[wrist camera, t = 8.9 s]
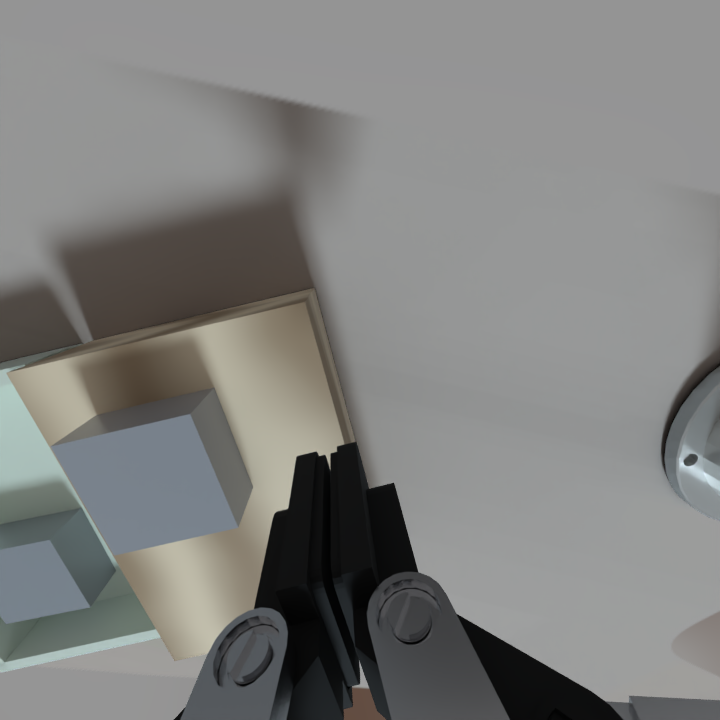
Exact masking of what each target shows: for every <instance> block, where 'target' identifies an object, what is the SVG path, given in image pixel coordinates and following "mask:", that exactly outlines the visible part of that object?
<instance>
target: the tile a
mask: <svg viewBox="0 0 720 720" xmlns="http://www.w3.org/2000/svg"><path fill="white" fill-rule="evenodd" d="M115 572H116V569H115V567H114V566H113V564H112V562H111V560H110V558H109V556H108V555H107V553H106V551H105V549H104V547H103V546H102V544H101V542H100V540H99V538H98V537H97V535H96V533H95V531H94V529H93V527H92V526H91V524H90V522H89V520H88V518H87V517H86V515H85V513H84V511H83V509H82V508H78V509H73V510H68V511H63V512H58V513H53V514H48V515H43V516H38V517H33V518H28V519H24V520H19V521H14V522H9V523H4V524H0V616H1V618H2V619H3V621H4V622H5V623H6V624H9V623H14V622H19V621H24V620H29V619H34V618H39V617H44V616H49V615H54V614H59V613H65V612H70V611H75V610H80V609H85V608H90V607H91V606H92V605H93V603H94V602H95V600H96V599H97V597H98V596H99V595H100V593H101V592H102V590H103V589H104V587H105V586H106V585H107V583H108V582H109V580H110V579H111V577H112V576H113V574H114V573H115Z"/></svg>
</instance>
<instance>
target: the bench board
mask: <svg viewBox="0 0 720 720" xmlns="http://www.w3.org/2000/svg"><path fill="white" fill-rule="evenodd" d="M6 374H7V375H8V377H9V379H10V381H11V382H12V384H13V386H14V387H15V389H16V391H17V393H18V394H19V396H20V398H21V399H22V401H23V403H24V404H25V406H26V408H27V410H28V411H29V413H30V415H31V416H32V418H33V420H34V422H35V423H36V425H37V427H38V428H39V430H40V432H41V434H42V435H43V437H44V439H45V440H46V442H47V444H48V445H49V447H50V446H52V445H53V444H55V443H56V442H58V441H59V440H61V439H62V438H64V437H65V436H67V435H68V434H69V433H71V432H72V431H74V430H75V429H77V428H78V427H80V426H81V425H83V424H84V423H86V422H87V421H89V420H90V419H91V418H93V417H94V416H96V415H98V414H103V413H107V412H111V411H116V410H120V409H124V408H128V407H133V406H137V405H141V404H145V403H150V402H154V401H158V400H163V399H167V398H171V397H175V396H180V395H184V394H188V393H192V392H197V391H201V390H205V389H210V388H215V390H216V393H217V395H218V398H219V401H220V403H221V406H222V408H223V411H224V413H225V416H226V419H227V421H228V424H229V426H230V429H231V431H232V434H233V436H234V439H235V442H236V444H237V447H238V449H239V452H240V454H241V457H242V460H243V462H244V465H245V467H246V470H247V472H248V475H249V478H250V480H251V483H252V485H253V489H252V492H251V495H250V498H249V500H248V503H247V506H246V508H245V511H244V514H243V517H242V519H241V522H240V525H239V527H238V528H235V529H230V530H226V531H221V532H217V533H213V534H208V535H204V536H199V537H195V538H190V539H186V540H181V541H177V542H173V543H168V544H164V545H159V546H155V547H150V548H146V549H141V550H137V551H133V552H128V553H124V554H119V555H115V556H114V555H113V553H112V551H111V549H110V548H109V546H108V544H107V543H106V541H105V539H104V537H103V536H102V534H101V532H100V531H99V529H98V527H97V525H96V524H95V522H94V520H93V519H92V517H91V515H90V513H89V512H88V510H87V508H86V507H85V505H84V503H83V501H82V500H81V498H80V496H79V495H78V493H77V491H76V489H75V488H74V486H73V484H72V483H71V481H70V479H69V477H68V476H67V474H66V472H65V471H64V469H63V467H62V465H61V464H60V462H59V460H58V459H57V457H56V455H55V453H54V452H53V450H52V448H51V447H50V449H51V451H52V452H53V454H54V456H55V457H56V459H57V461H58V463H59V464H60V466H61V468H62V469H63V471H64V473H65V475H66V476H67V478H68V480H69V481H70V483H71V485H72V487H73V488H74V490H75V492H76V493H77V495H78V497H79V498H80V500H81V502H82V504H83V505H84V507H85V509H86V510H87V512H88V514H89V516H90V517H91V519H92V521H93V522H94V524H95V526H96V528H97V529H98V531H99V533H100V534H101V536H102V538H103V539H104V541H105V543H106V545H107V546H108V548H109V550H110V551H111V553H112V555H113V557H114V558H115V560H116V562H117V563H118V565H119V567H120V569H121V570H122V572H123V574H124V575H125V577H126V579H127V580H128V582H129V584H130V586H131V587H132V589H133V591H134V592H135V594H136V596H137V598H138V599H139V601H140V603H141V604H142V606H143V608H144V610H145V611H146V613H147V615H148V616H149V618H150V620H151V621H152V623H153V625H154V627H155V628H156V630H157V632H158V633H159V635H160V637H161V639H162V640H163V642H164V644H165V645H166V647H167V649H168V651H169V652H170V654H171V656H172V657H173V659H174V661H177V660H181V659H186V658H191V657H195V656H200V655H204V654H208V652H209V651H210V649H211V647H212V645H213V643H214V641H215V639H216V638H217V637H218V636H219V634H220V633H221V632H222V631H223V629H224V628H225V627H226V626H227V625H228V624H229V623H231V622H232V621H233V620H234V619H235V618H236V617H238V616H240V615H242V614H243V613H245V612H247V611H249V610H253V609H254V606H255V601H256V596H257V591H258V586H259V582H260V577H261V572H262V567H263V563H264V558H265V553H266V548H267V543H268V539H269V534H270V529H271V524H272V520H273V516H274V514H275V513H276V512H277V511H281V510H285V509H288V506H289V500H290V494H291V488H292V481H293V475H294V469H295V462H296V457H297V456H299V455H303V454H307V453H311V452H316V451H317V453H318V455H319V456H321V455H326V458H327V461H328V464H329V467H330V454H331V453H334V452H337V446H340V445H344V444H348V443H352V442H355V438H354V434H353V430H352V427H351V423H350V419H349V415H348V412H347V408H346V404H345V400H344V397H343V393H342V389H341V385H340V382H339V378H338V374H337V370H336V366H335V363H334V359H333V355H332V351H331V348H330V344H329V340H328V336H327V333H326V329H325V325H324V321H323V318H322V314H321V310H320V306H319V303H318V299H317V295H316V291H315V288H311V289H307V290H303V291H299V292H294V293H290V294H286V295H282V296H278V297H274V298H269V299H265V300H261V301H257V302H253V303H248V304H244V305H240V306H236V307H232V308H227V309H223V310H219V311H215V312H211V313H207V314H202V315H198V316H194V317H190V318H186V319H181V320H177V321H173V322H169V323H165V324H160V325H156V326H152V327H148V328H144V329H140V330H135V331H131V332H127V333H123V334H119V335H114V336H110V337H106V338H102V339H98V340H93V341H91V342H88V343H85V344H83V345H80V346H77V347H74V348H72V349H69V350H66V351H64V352H61V353H58V354H56V355H53V356H50V357H48V358H45V359H42V360H40V361H37V362H34V363H32V364H29V365H26V366H24V367H21V368H18V369H16V370H13V371H10V372H7V373H6Z"/></svg>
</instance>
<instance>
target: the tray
mask: <svg viewBox="0 0 720 720" xmlns="http://www.w3.org/2000/svg"><path fill="white" fill-rule="evenodd" d="M80 345H83V344H82V343H81V344H77V345H73V346H68V347H64V348H60V349H56V350H52V351H47V352H43V353H39V354H35V355H31V356H26V357H22V358H18V359H14V360H10V361H6V362H1V363H0V524H4V523H9V522H14V521H19V520H24V519H28V518H33V517H38V516H43V515H48V514H53V513H58V512H63V511H68V510H73V509H78V508H82V509H83V511H84V513H85V515H86V517H87V518H88V520H89V522H90V524H91V526H92V527H93V529H94V531H95V533H96V535H97V537H98V538H99V540H100V542H101V544H102V546H103V547H104V549H105V551H106V553H107V555H108V556H109V558H110V560H111V562H112V564H113V566H114V567H115V569H116V572H115V573H114V574H113V576H112V577H111V579H110V580H109V582H108V583H107V585H106V586H105V587H104V589H103V590H102V592H101V593H100V595H99V596H98V597H97V599H96V600H95V602H94V603H93V605H92V606H91V607H90V608H85V609H80V610H75V611H70V612H65V613H59V614H54V615H49V616H44V617H39V618H34V619H29V620H24V621H19V622H14V623H9V624H6V623H5V622H4V621H3V619H2V618H1V616H0V673H1V672H5V671H10V670H14V669H19V668H24V667H28V666H33V665H38V664H42V663H47V662H51V661H56V660H60V659H65V658H69V657H74V656H79V655H83V654H88V653H92V652H97V651H101V650H106V649H111V648H115V647H120V646H124V645H129V644H133V643H138V642H143V641H147V640H152V639H156V638H161V637H160V635H159V633H158V632H157V630H156V628H155V627H154V625H153V623H152V621H151V620H150V618H149V616H148V615H147V613H146V611H145V610H144V608H143V606H142V604H141V603H140V601H139V599H138V598H137V596H136V594H135V592H134V591H133V589H132V587H131V586H130V584H129V582H128V580H127V579H126V577H125V575H124V574H123V572H122V570H121V569H120V567H119V565H118V563H117V562H116V560H115V558H114V557H113V555H112V553H111V551H110V550H109V548H108V546H107V545H106V543H105V541H104V539H103V538H102V536H101V534H100V533H99V531H98V529H97V528H96V526H95V524H94V522H93V521H92V519H91V517H90V516H89V514H88V512H87V510H86V509H85V507H84V505H83V504H82V502H81V500H80V498H79V497H78V495H77V493H76V492H75V490H74V488H73V487H72V485H71V483H70V481H69V480H68V478H67V476H66V475H65V473H64V471H63V469H62V468H61V466H60V464H59V463H58V461H57V459H56V457H55V456H54V454H53V452H52V451H51V449H50V447H49V445H48V444H47V442H46V440H45V439H44V437H43V435H42V434H41V432H40V430H39V428H38V427H37V425H36V423H35V422H34V420H33V418H32V416H31V415H30V413H29V411H28V410H27V408H26V406H25V404H24V403H23V401H22V399H21V398H20V396H19V394H18V393H17V391H16V389H15V387H14V386H13V384H12V382H11V381H10V379H9V377H8V375H7V374H6V373H7V372H10V371H13V370H16V369H18V368H21V367H24V366H26V365H29V364H32V363H34V362H37V361H40V360H42V359H45V358H48V357H50V356H53V355H56V354H58V353H61V352H64V351H66V350H69V349H72V348H74V347H77V346H80Z"/></svg>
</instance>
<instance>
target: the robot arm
mask: <svg viewBox="0 0 720 720" xmlns="http://www.w3.org/2000/svg"><path fill="white" fill-rule="evenodd" d="M664 459H665V467H666V474H667V477H668V479H669V482H670V484H671V487H672V488H673V489H674V490H675V492H676V493H677V494H678V496H679V497H680V498H681V499H683V500H684V501H685V502H686V503H688V504H689V505H690V506H692V507H693V508H694V509H695V510H697V511H699V512H700V513H702V514H704V515H705V516H707V517H709V518H712V519H715V520H718V521H720V366H719V367H718V368H716V369H715V370H714V371H713V372H711V373H710V374H709V375H708V376H707V377H706V378H705V379H704V380H703V381H702V382H701V383H700V384H699V385H698V386H697V387H696V388H695V389H694V390H693V391H692V392H691V394H690V395H689V397H688V398H687V399H686V401H685V402H684V403H683V405H682V406H681V408H680V409H679V411H678V413H677V415H676V417H675V419H674V421H673V423H672V425H671V428H670V431H669V435H668V438H667V441H666V449H665V458H664ZM359 660H360V663H361V666H362V669H363V672H364V675H365V678H366V680H367V683H368V686H369V688H370V691H371V694H372V697H373V700H374V703H375V706H376V709H377V711H378V712H379V713H380V714H381V715H382V716H383V717H385V719H387V720H720V700H701V699H682V698H662V697H643V696H629V703H623V702H605V701H604V700H602V699H601V698H600V697H598V696H597V695H596V694H594V693H593V692H591V691H590V690H588V689H586V688H584V687H583V686H581V685H579V684H577V683H576V682H574V681H572V680H570V679H569V678H567V677H565V676H564V675H562V674H560V673H558V672H557V671H555V670H553V669H551V668H550V667H548V666H546V665H544V664H543V663H541V662H539V661H537V660H536V659H534V658H532V657H530V656H529V655H527V654H525V653H524V652H522V651H520V650H518V649H517V648H515V647H513V646H511V645H510V644H508V643H506V642H504V641H503V640H501V639H499V638H497V637H496V636H494V635H492V634H491V633H489V632H487V631H485V630H484V629H482V628H480V627H478V626H477V625H475V624H473V623H471V622H470V621H468V620H466V619H464V618H463V617H461V616H459V615H458V614H456V612H455V610H454V608H453V606H452V605H451V603H450V601H449V599H448V597H447V595H446V593H445V592H444V590H443V589H442V587H441V586H440V585H439V583H437V582H436V581H435V580H433V579H432V578H431V577H429V576H427V575H424V574H421V573H419V572H418V569H417V566H416V562H415V558H414V555H413V551H412V547H411V544H410V540H409V536H408V532H407V529H406V525H405V521H404V518H403V514H402V510H401V507H400V503H399V499H398V496H397V492H396V488H395V485H394V483H391V484H387V485H383V486H379V487H375V488H371V489H369V487H368V483H367V480H366V476H365V472H364V468H363V465H362V461H361V457H360V453H359V450H358V446H357V443H356V442H352V443H348V444H344V445H340V446H337V452H334V453H331V454H330V467H329V464H328V461H327V458H326V455H321V456H319V455H318V453H317V451H316V452H311V453H307V454H303V455H299V456H297V457H296V462H295V469H294V475H293V481H292V488H291V494H290V500H289V506H288V509H285V510H281V511H277V512H276V513H275V514H274V516H273V520H272V524H271V529H270V534H269V539H268V543H267V548H266V553H265V558H264V563H263V567H262V572H261V577H260V582H259V586H258V591H257V596H256V601H255V606H254V609H253V610H249V611H247V612H245V613H243V614H242V615H240V616H238V617H236V618H235V619H234V620H233V621H232V622H231V623H229V624H228V625H227V626H226V627H225V628H224V629H223V631H222V632H221V633H220V634H219V636H218V637H217V638H216V639H215V641H214V643H213V645H212V647H211V649H210V651H209V652H208V655H207V657H206V659H205V662H204V664H203V667H202V669H201V671H200V674H199V676H198V679H197V681H196V684H195V686H194V688H193V691H192V693H191V695H190V698H189V700H188V703H187V705H186V707H185V708H184V709H183V710H182V712H181V713H180V714H179V715H178V716H177V717H176V718H175V719H174V720H344V712H343V709H346V708H350V707H352V706H353V701H352V686H355V685H359V684H360V668H359Z"/></svg>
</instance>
